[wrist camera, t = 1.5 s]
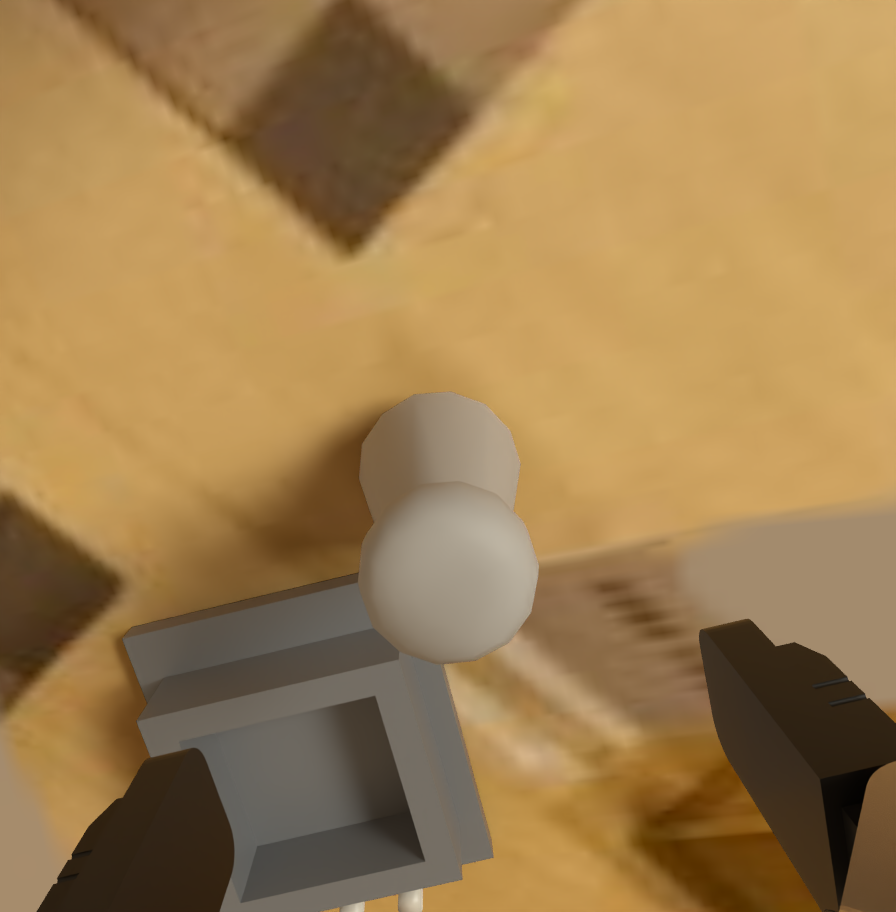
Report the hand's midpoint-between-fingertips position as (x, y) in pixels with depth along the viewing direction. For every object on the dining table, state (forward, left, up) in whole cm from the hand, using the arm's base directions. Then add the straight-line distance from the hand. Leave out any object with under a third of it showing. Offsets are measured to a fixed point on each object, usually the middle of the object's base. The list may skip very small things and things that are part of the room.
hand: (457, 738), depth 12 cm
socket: (+11, -8, -18) cm, 23 cm away
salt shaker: (0, 0, -18) cm, 18 cm away
